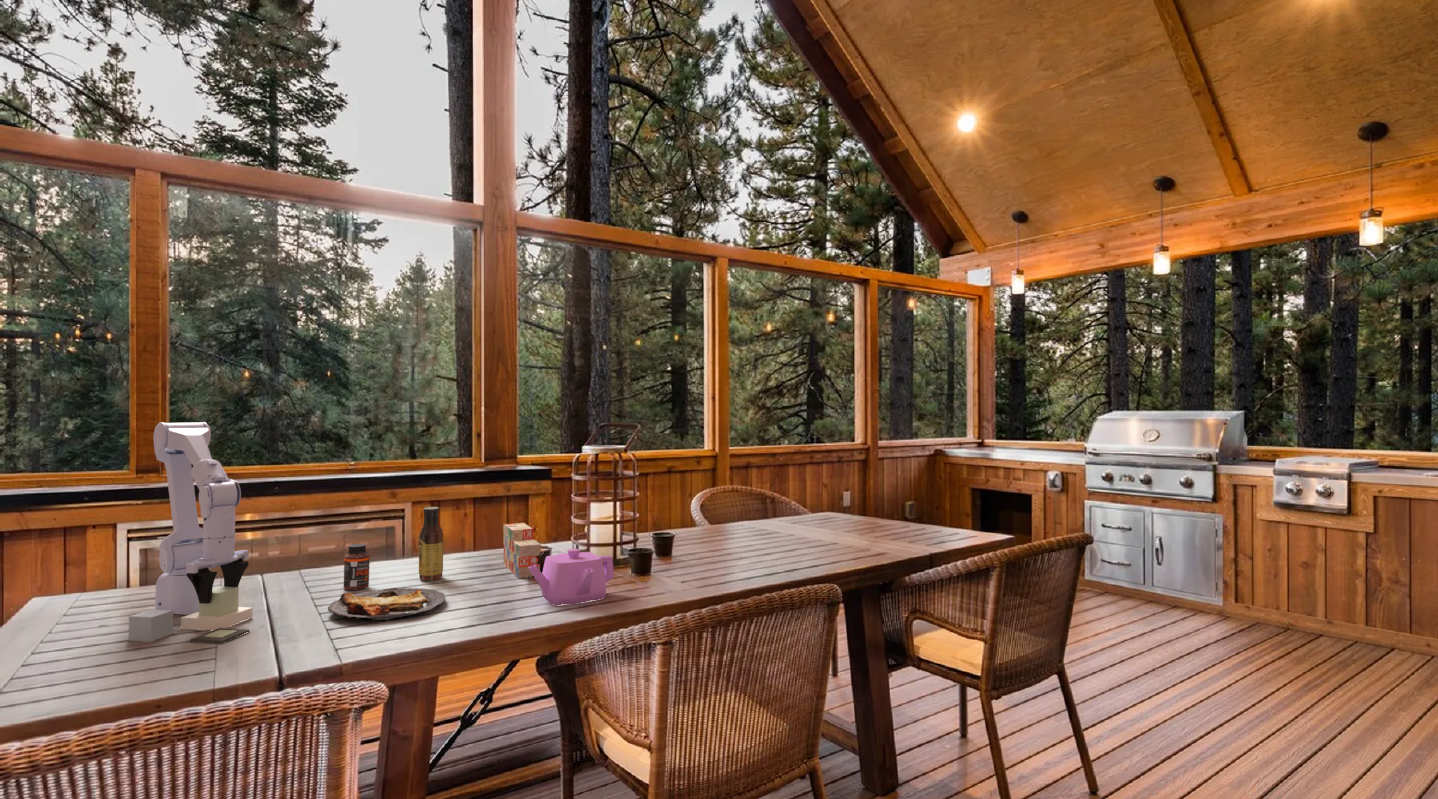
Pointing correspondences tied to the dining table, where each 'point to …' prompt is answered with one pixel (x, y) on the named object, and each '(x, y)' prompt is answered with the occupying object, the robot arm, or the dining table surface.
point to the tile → (219, 635)
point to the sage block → (220, 602)
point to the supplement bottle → (356, 568)
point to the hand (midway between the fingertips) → (218, 598)
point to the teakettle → (574, 577)
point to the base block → (215, 619)
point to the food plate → (386, 603)
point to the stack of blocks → (520, 549)
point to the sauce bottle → (431, 546)
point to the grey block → (150, 625)
